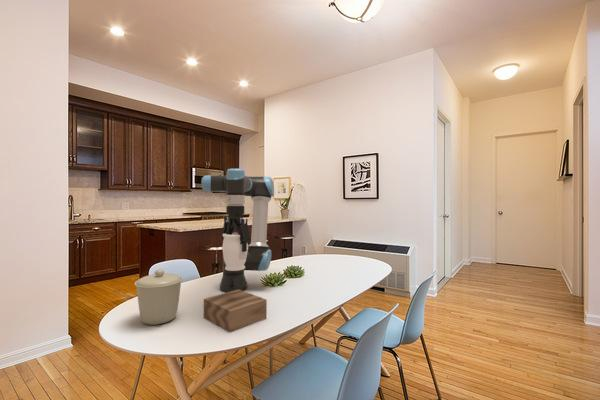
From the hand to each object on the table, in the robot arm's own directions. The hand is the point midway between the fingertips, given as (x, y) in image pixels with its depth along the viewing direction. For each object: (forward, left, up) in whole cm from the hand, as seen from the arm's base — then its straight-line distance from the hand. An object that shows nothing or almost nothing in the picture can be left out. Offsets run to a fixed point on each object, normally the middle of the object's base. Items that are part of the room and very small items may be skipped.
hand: (235, 257), depth 125 cm
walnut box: (0, 0, -26) cm, 26 cm away
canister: (-21, -23, -26) cm, 41 cm away
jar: (0, 0, -5) cm, 5 cm away
